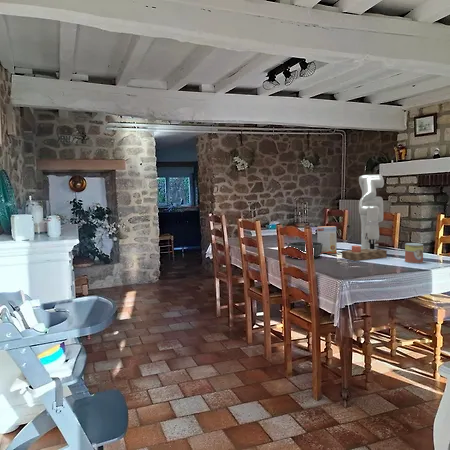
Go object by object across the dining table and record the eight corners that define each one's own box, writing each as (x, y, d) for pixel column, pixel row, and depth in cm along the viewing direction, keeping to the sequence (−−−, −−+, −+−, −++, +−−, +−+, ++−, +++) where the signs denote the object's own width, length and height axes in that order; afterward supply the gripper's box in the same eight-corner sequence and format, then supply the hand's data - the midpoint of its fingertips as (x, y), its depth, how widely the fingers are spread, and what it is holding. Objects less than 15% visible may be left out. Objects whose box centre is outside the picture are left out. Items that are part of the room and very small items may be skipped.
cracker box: (335, 252, 325) (335, 225, 323) (336, 253, 319) (336, 226, 317) (317, 252, 327) (317, 226, 325) (318, 253, 321) (318, 226, 319)
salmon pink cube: (356, 251, 299) (356, 245, 298) (360, 252, 295) (360, 246, 294) (351, 252, 297) (351, 245, 297) (355, 252, 293) (355, 246, 293)
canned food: (411, 263, 273) (411, 245, 271) (401, 260, 284) (401, 243, 282) (426, 262, 275) (427, 244, 274) (415, 259, 286) (416, 242, 285)
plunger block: (373, 254, 310) (373, 248, 310) (386, 257, 297) (386, 250, 297) (342, 257, 300) (342, 251, 300) (354, 260, 287) (354, 253, 287)
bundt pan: (283, 254, 322) (282, 241, 321) (315, 253, 325) (315, 240, 324) (292, 260, 295) (292, 246, 294) (328, 258, 299) (328, 245, 298)
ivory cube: (372, 254, 304) (372, 248, 304) (376, 254, 300) (376, 248, 299) (367, 254, 302) (367, 248, 302) (371, 255, 298) (371, 249, 298)
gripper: (376, 222, 305) (376, 247, 307) (360, 223, 300) (360, 248, 301) (384, 223, 298) (384, 248, 300) (367, 224, 293) (367, 250, 294)
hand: (372, 248), depth 301 cm, fingers closed
